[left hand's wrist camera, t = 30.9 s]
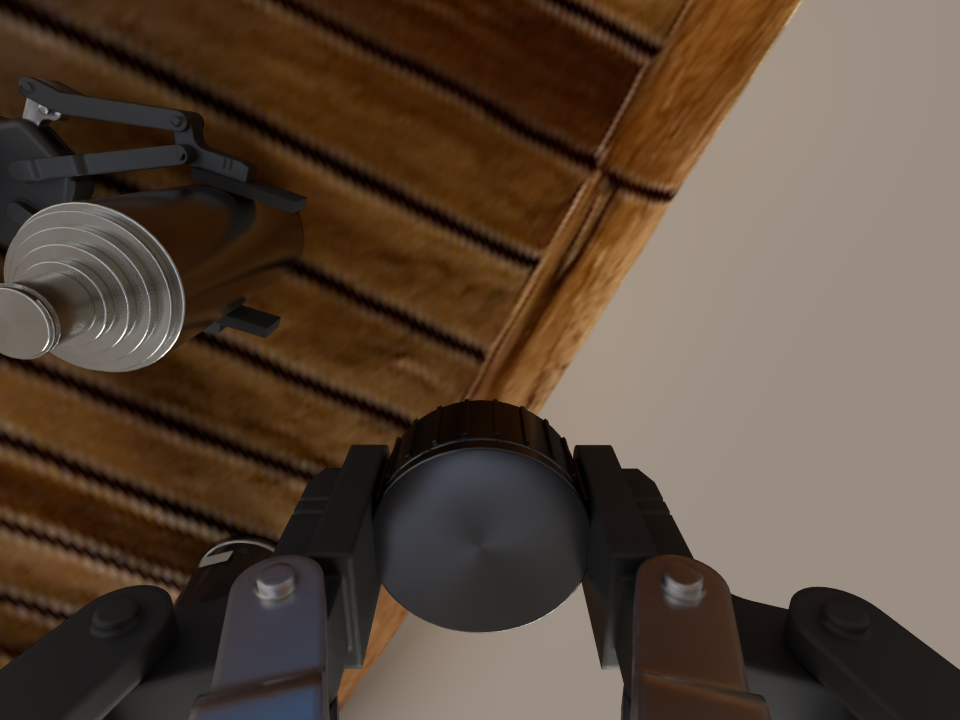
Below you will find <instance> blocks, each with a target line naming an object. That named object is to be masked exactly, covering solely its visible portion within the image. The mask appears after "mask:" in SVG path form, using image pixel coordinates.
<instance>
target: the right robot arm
mask: <svg viewBox="0 0 960 720" xmlns="http://www.w3.org/2000/svg"><path fill="white" fill-rule="evenodd" d="M18 87H19V90H20V92H21V93H22V94H23V95H24V96H25V97H26V98H27V101H26V105H25V109H24V113H23V117H22V118H15V119H8V118H5V117H2V116H0V240H1V241H3V242H4V243H5V244H6V245H7V246H10V244H11V242H12V240H13V238H14V237H15V236H16V234H17V232H18V230H19V229H20V228H21V227H22V226H23V224H24V223H25V222H26V221H27V220H28V219H29V218H30V217H32V216H33V215H34V214H36V213H37V212H39V211H41V210H42V209H45V208H47V207H50V206H52V205H56V204H60V203H64V202H72V201H79V200H86V199H91V197H92V194H93V192H94V184H95V180H94V179H91V176H90V175H98V174H107V173H116V172H125V171H135V170H144V169H154V168H163V167H173V166H182V165H191V166H194V167H192V168H191V175H190V179H191V180H194V181H197V182H200V183H203V184H206V185H209V186H212V187H215V188H218V189H221V190H224V191H227V192H231V193H234V194H237V195H240V196H243V197H246V198H249V199H252V200H255V201H258V202H261V203H264V204H267V205H270V206H273V207H276V208H279V209H282V210H286V211H289V212H292V213H294V212H296V211H299V210H302V209H305V205H306V200H307V197H304V196H301V195H298V194H295V193H292V192H289V191H286V190H283V189H280V188H277V187H274V186H271V185H268V184H265V183H262V182H259V181H256V180H254V179H255V174H256V168H257V167H256V166H255V165H253V164H252V163H251V162H250V161H247V160H244V159H240V158H238V157H234V156H232V155H229V154H226V153H223V152H220V151H217V150H214V149H212V148H210V147H209V146H208V145H207V144H206V142H205V140H204V137H203V131H202V129H203V128H204V120H203V118H202V116H201V115H199V114H198V113H195V112H190V111H183V110H176V109H170V108H163V107H157V106H150V105H144V104H137V103H130V102H124V101H117V100H111V99H104V98H97V97H91V96H85V95H83V94H81V93H79V92H77V91H75V90H73V89H71V88H69V87H67V86H66V85H64V84H62V83H60V82H57V81H53V80H47V79H40V78H33V77H23V78H21V79H20V81H19V85H18ZM70 116H77V117H84V118H90V119H97V120H104V121H110V122H117V123H124V124H130V125H137V126H144V127H150V128H157V129H164V130H170V131H173V134H174V139H175V145H167V146H157V147H148V148H138V149H129V150H120V151H110V152H101V153H91V154H81V155H75V154H74V153H73V151H72V150H71V149H70V148H69V147H68V146H67V145H66V144H65V143H64V142H63V140H62V139H61V138H60V137H59V136H58V135H57V134H56V133H55V132H54V131H53V129H52V128H51V127H50V126H49V123H50V122H51V121H66V120H68V119H69V118H70ZM280 318H281V317H279V316H275V315H272V314H269V313H266V312H262V311H259V310H256V309H253V308H249V307H246V306H243V305H240V306H239V307H237V308H236V309H234V310H233V311H231V312H230V313H228V314H227V315H225V316H224V317H222V318H221V319H219V320H218V321H216V322H215V323H213V324H212V325H210V326H209V327H207V328H206V329H204V330H203V332H207V333H210V334H213V333H219V332H220V331H222V330H223V329H225V328H226V326H227V327H231V328H234V329H237V330H241V331H244V332H247V333H250V334H254V335H257V336H260V337H264V338H267V337H268V336H269V335H270V334H271V333H272V332H273V331H274V330H275V329H276V328H278V327H279V322H280Z"/></svg>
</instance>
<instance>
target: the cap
mask: <svg viewBox="0 0 960 720" xmlns="http://www.w3.org/2000/svg"><path fill="white" fill-rule="evenodd" d="M587 499H588V498H587V495H586V492H585V488H584V485H583V482H582V478H581V475H580V472H579V468H578V465H577V462H576V458H575V459H573V458H572V455H571V453H570V451H569V448H568V445H567V441H566V439H565V438H564V437H563V438H561V437H560V435H559V434H558V433H557V432H556V431H555V430H554V429H553V428H552V427H551V426H550V425H549V422H548V420H546V419H544V420H543V419H541V418H539V417H538V416H536V415H535V414H533V413H531V412H530V411H527V410H525V407H523V406H521V407H517V406H514V405H511V404H508V403H503V402H500V401H498V400H497V399H493V401H486V400H476V401H469V399H465V402H464V401H463V402H459V403H455V404H451V405H448V406H445V407H442V406H439V407H437V410H435V411H433V412H431V413H429V414H428V415H426V416H424V417H423V418H421V419H419V420H418V419H416V420H414V423H413V425H412V426H411V427H410V428H409V429H408V430H407V431H406V432H405V433H404V434H403V435H402V437H401V438H400V437H398V438H397V439H396V442H395V445H394V449H393V451H392V453H391V455H390V458H389V459H387V462H386V465H385V469H384V472H383V475H382V479H381V482H380V486H379V489H378V493H377V496H376V506H375V510H374V513H373V516H372V524H373V537H374V550H375V563H376V573H377V575H378V577H379V579H380V581H381V583H382V584H383V586H384V587H385V588H386V590H387V591H388V592H389V594H390V595H391V596H392V597H393V598H394V599H395V600H396V601H397V602H398V603H399V604H400V605H402V606H403V607H404V608H405V609H407V610H408V611H410V612H411V613H413V614H414V615H416V616H417V617H419V618H421V619H423V620H425V621H427V622H429V623H432V624H435V625H437V626H440V627H443V628H447V629H451V630H455V631H462V632H470V633H493V632H500V631H507V630H511V629H515V628H519V627H522V626H525V625H528V624H530V623H533V622H535V621H537V620H539V619H541V618H543V617H545V616H547V615H548V614H550V613H551V612H553V611H554V610H556V609H557V608H558V607H559V606H561V605H562V604H563V603H564V602H565V601H566V600H567V599H568V598H569V597H570V596H571V595H572V594H573V593H574V592H575V590H576V589H577V587H578V586H579V584H580V583H581V582H582V580H583V578H584V576H585V574H586V572H587V566H588V554H589V541H590V529H591V519H590V515H589V512H588V509H587V505H586V503H587Z"/></svg>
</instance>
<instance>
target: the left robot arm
mask: <svg viewBox="0 0 960 720" xmlns="http://www.w3.org/2000/svg"><path fill="white" fill-rule="evenodd" d="M389 458H390V454H389V448H388V445H352V446H351V448H350V450H349V452H348V455H347V457H346V459H345V462H344V464H343V466H342V468H325V469H324V470H323V471H322V472H320V473H319V474H318V475H317V476H315V477H314V478H313V479H312V480H310V481H309V482H308V484H307V486H306V488H305V490H304V492H303V494H302V496H301V500H300V501H299V502H298V504H297V506H296V508H295V510H294V515H292V516H291V518H290V520H289V522H288V524H287V526H286V528H285V530H284V532H283V534H282V536H281V538H280V540H279V542H278V544H277V545H276V544H274V543H272V542H270V541H267V540H265V539H262V538H258V537H253V536H235V537H230V538H226V539H224V540H221V541H219V542H218V543H216V544H215V545H213V546H212V547H211V548H210V549H209V550H208V551H207V553H206V554H205V556H204V557H203V559H202V560H201V562H200V564H199V566H198V568H197V570H196V571H195V573H194V574H193V576H192V577H191V579H190V580H189V581H188V583H187V584H186V586H185V587H184V589H183V590H182V592H181V593H180V595H179V596H178V598H177V599H176V601H175V602H174V604H173V603H172V599H171V596H170V595H169V594H168V592H166V591H165V590H164V589H162V588H159V587H156V586H151V585H138V586H131V587H126V588H122V589H118V590H115V591H113V592H110V593H107V594H105V595H103V596H101V597H99V598H97V599H95V600H94V601H92V602H90V603H89V604H87V605H86V606H84V607H83V608H81V609H80V610H79V611H78V612H76V613H75V614H74V615H72V616H71V617H70V618H68V619H67V620H66V621H64V622H63V623H62V624H60V625H59V626H58V627H56V628H55V629H54V630H52V631H51V632H50V633H48V634H47V635H46V636H44V637H43V638H42V639H40V640H39V641H38V642H37V643H35V644H34V645H33V646H31V647H30V648H29V649H27V650H26V651H25V652H23V653H22V654H21V655H19V656H18V657H17V658H15V659H14V660H13V661H11V662H10V663H9V664H7V665H6V666H5V667H3V668H2V669H1V670H0V720H339V705H338V696H337V692H338V689H339V686H340V682H341V678H342V674H343V670H344V669H362V667H363V662H364V658H365V654H366V649H367V645H368V640H369V636H370V631H371V627H372V622H373V618H374V613H375V609H376V604H377V600H378V595H379V591H380V586H381V581H380V579H379V577H378V575H377V573H376V563H375V550H374V537H373V524H372V516H373V513H374V510H375V506H376V496H377V493H378V489H379V486H380V482H381V479H382V475H383V472H384V469H385V465H386V462H387V459H389ZM575 458H576V462H577V465H578V468H579V472H580V475H581V478H582V482H583V485H584V488H585V492H586V495H587V498H588V499H587V503H586V505H587V509H588V512H589V515H590V519H591V529H590V541H589V554H588V566H587V572H586V574H585V576H584V578H583V580H582V586H583V590H584V595H585V599H586V603H587V608H588V612H589V616H590V621H591V625H592V629H593V634H594V638H595V642H596V647H597V651H598V655H599V660H600V664H601V668H602V669H620V671H621V674H622V678H623V682H624V688H623V696H622V705H621V720H960V670H959V669H958V668H956V667H955V666H954V665H953V664H951V663H950V662H949V661H947V660H946V659H945V658H943V657H942V656H941V655H939V654H938V653H937V652H935V651H934V650H933V649H931V648H930V647H929V646H927V645H926V644H925V643H923V642H922V641H921V640H920V639H918V638H917V637H915V636H914V635H913V634H912V633H910V632H909V631H908V630H906V629H905V628H904V627H902V626H901V625H900V624H898V623H897V622H896V621H894V620H893V619H892V618H890V617H889V616H888V615H886V614H885V613H884V612H882V611H881V610H880V609H878V608H877V607H875V606H874V605H873V604H871V603H869V602H867V601H866V600H864V599H862V598H860V597H858V596H855V595H853V594H850V593H848V592H845V591H841V590H838V589H833V588H827V587H810V588H805V589H802V590H800V591H798V592H797V593H795V594H794V595H793V597H792V598H791V601H790V605H789V609H784V608H780V607H776V606H771V605H767V604H763V603H758V602H754V601H750V600H747V599H743V598H741V597H738V596H735V595H733V594H731V593H730V590H729V587H728V585H727V583H726V581H725V580H724V579H723V578H722V576H721V575H720V574H718V573H717V572H716V571H715V570H714V569H712V568H711V567H709V566H708V565H706V564H704V563H702V562H700V561H698V560H695V559H694V558H693V556H692V554H691V552H690V550H689V548H688V546H687V544H686V543H685V541H684V539H683V537H682V535H681V533H680V531H679V529H678V527H677V525H676V523H675V521H674V519H673V517H672V515H670V512H669V509H668V507H667V505H666V504H665V502H663V498H662V496H661V494H660V492H659V490H658V488H657V486H656V484H655V482H654V481H652V480H651V479H650V478H649V477H647V476H646V475H645V474H644V473H642V472H641V471H640V470H639V469H622V468H621V466H620V464H619V462H618V459H617V457H616V455H615V452H614V450H613V448H612V446H611V445H576V446H575V448H574V454H573V459H575Z"/></svg>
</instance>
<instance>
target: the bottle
mask: <svg viewBox="0 0 960 720" xmlns="http://www.w3.org/2000/svg"><path fill="white" fill-rule="evenodd" d="M254 180H256V179H254ZM256 181H259V180H256ZM259 182H262V183H265V182H263V181H259ZM265 184H267V183H265ZM268 185H269V184H268ZM303 239H304V238H303V228H302V224H301V221H300V218H299V215H298V213H297V211H296V212H294V213H292V212H289V211H286V210H282V209H279V208H276V207H273V206H270V205H267V204H264V203H261V202H258V201H255V200H252V199H249V198H246V197H243V196H240V195H237V194H234V193H231V192H227V191H224V190H221V189H218V188H215V187H212V186H209V185H206V184H203V183H201V184H194V185H187V186H179V187H172V188H165V189H158V190H151V191H143V192H136V193H129V194H122V195H115V196H108V197H100V198H93V199H86V200H79V201H72V202H64V203H60V204H56V205H52V206H50V207H47V208H45V209H42V210H41V211H39V212H37V213H36V214H34V215H33V216H32V217H30V218H29V219H28V220H27V221H26V222H25V223H24V224H23V226H22V227H21V228H20V229H19V230H18V232H17V234H16V236H15V237H14V238H13V240H12V242H11V244H10V246H9V248H8V251H7V254H6V258H5V263H4V282H5V283H2V284H0V353H1V354H3V355H6V356H9V357H12V358H19V359H34V358H38V357H41V356H43V355H44V354H46V353H47V352H50V353H52V354H53V355H55V356H56V357H58V358H60V359H62V360H64V361H66V362H68V363H71V364H73V365H76V366H79V367H82V368H86V369H91V370H97V371H105V372H126V371H133V370H137V369H141V368H143V367H146V366H149V365H150V364H152V363H154V362H156V361H158V360H159V359H161V358H162V357H164V356H165V355H167V354H168V353H170V352H171V351H173V350H174V349H176V348H177V347H179V346H180V345H182V344H183V343H185V342H186V341H188V340H189V339H191V338H192V337H194V336H195V335H197V334H198V333H200V332H201V331H203V330H204V329H206V328H207V327H209V326H210V325H212V324H213V323H215V322H216V321H218V320H219V319H221V318H222V317H224V316H225V315H227V314H228V313H230V312H231V311H233V310H234V309H236V308H237V307H239V306H240V305H242V304H243V303H245V302H246V301H248V300H249V299H251V298H252V297H254V296H255V295H257V294H258V293H260V292H261V291H263V290H264V289H266V288H267V287H269V286H270V285H272V284H273V283H275V282H276V281H278V280H279V279H281V278H282V277H284V276H285V275H287V274H288V273H289V272H290V271H291V270H292V269H293V268H294V266H295V265H296V264H297V262H298V260H299V258H300V255H301V252H302V248H303Z"/></svg>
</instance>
